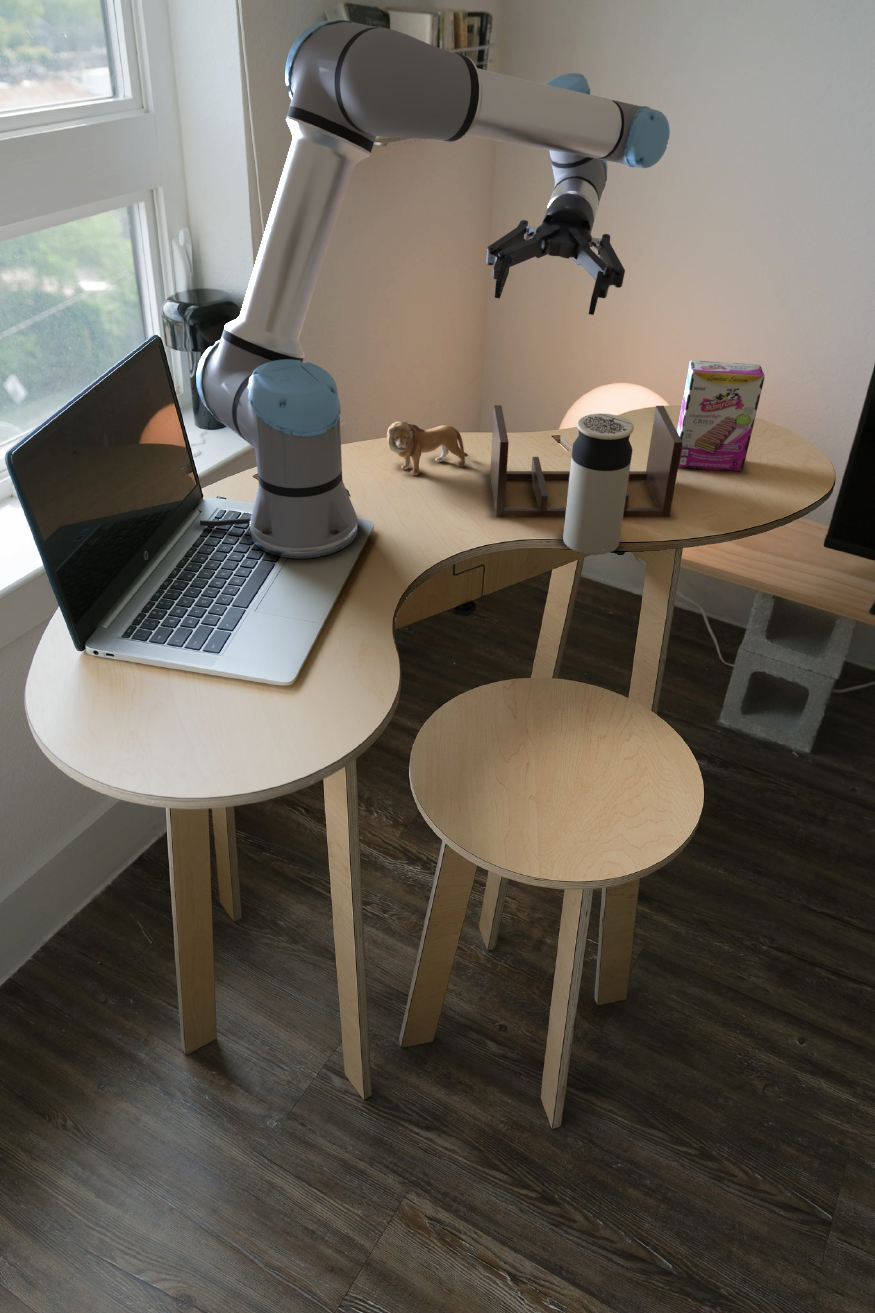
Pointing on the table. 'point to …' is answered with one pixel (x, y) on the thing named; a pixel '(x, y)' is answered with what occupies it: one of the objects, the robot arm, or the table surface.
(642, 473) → the rack
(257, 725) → the table surface
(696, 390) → the candy bar box
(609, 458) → the travel mug
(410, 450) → the lion figurine
